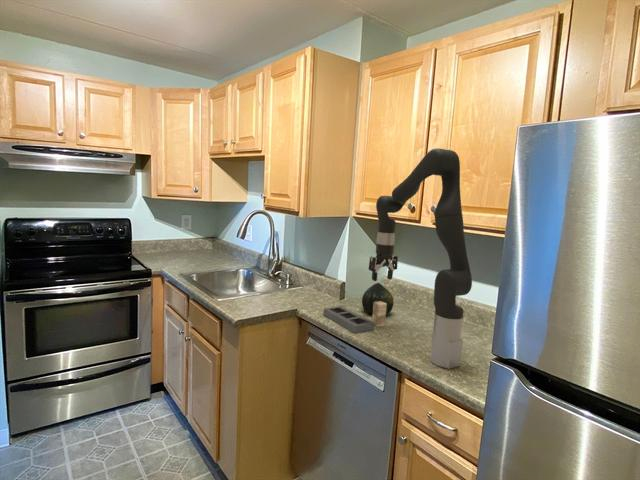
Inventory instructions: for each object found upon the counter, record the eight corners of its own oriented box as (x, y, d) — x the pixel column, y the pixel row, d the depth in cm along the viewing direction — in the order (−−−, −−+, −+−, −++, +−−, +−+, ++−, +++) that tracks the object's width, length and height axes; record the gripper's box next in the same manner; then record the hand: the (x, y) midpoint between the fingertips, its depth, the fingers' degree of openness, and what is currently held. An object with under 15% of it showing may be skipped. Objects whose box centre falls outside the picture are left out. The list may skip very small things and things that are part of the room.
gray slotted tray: (373, 329, 158) (374, 323, 158) (354, 333, 153) (355, 326, 152) (340, 312, 178) (341, 306, 178) (323, 314, 173) (323, 308, 172)
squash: (378, 309, 168) (391, 282, 174) (352, 302, 178) (365, 276, 184) (390, 325, 176) (402, 298, 182) (364, 317, 187) (377, 292, 193)
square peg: (384, 325, 164) (386, 303, 163) (377, 326, 162) (379, 304, 161) (378, 322, 167) (380, 300, 166) (371, 323, 165) (373, 301, 164)
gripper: (378, 244, 153) (375, 283, 155) (403, 243, 160) (400, 280, 163) (366, 242, 159) (363, 279, 161) (391, 241, 167) (388, 276, 169)
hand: (382, 279), depth 162 cm, fingers open, 8 cm apart
